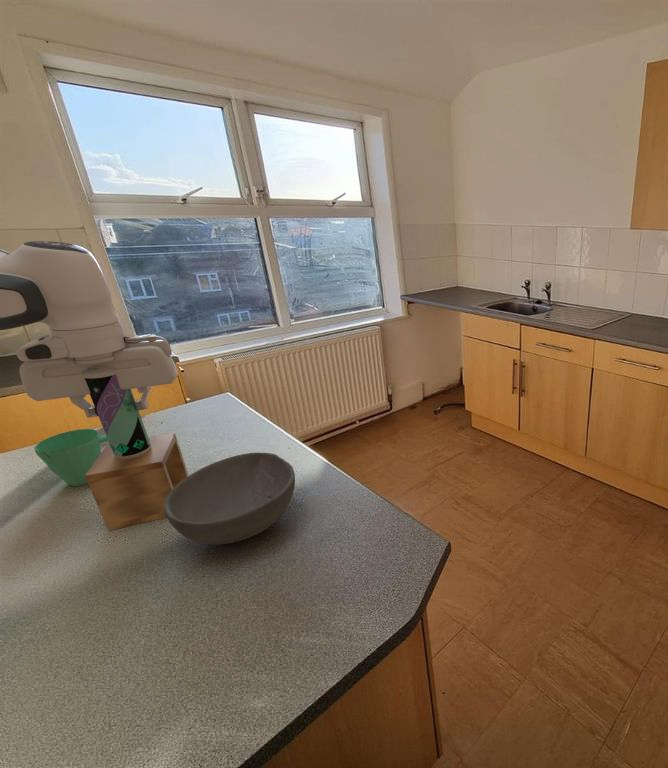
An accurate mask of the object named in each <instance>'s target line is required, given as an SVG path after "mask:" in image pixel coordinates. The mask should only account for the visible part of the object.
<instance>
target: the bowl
mask: <svg viewBox="0 0 668 768" xmlns="http://www.w3.org/2000/svg"><path fill="white" fill-rule="evenodd" d="M188 475H189V474H188ZM295 485H296V473H295V470H294V467H293V465H291V463H289V462H288V461H287V460H285V459H284V458H282V457H280V456H279V455H277V454H275V453H271V452H247V453H242V454H237V455H233V456H230V457H226V458H224V459H220V460H218V461H216V462H213V463H211V464H209V465H206V466H204V467H202V468H200V469H198V470H196V471H194V472H193V473H191V474H190V475H189V476H188V477H187V478H185V479H184V480H182V481H181V482H180V483H179V484H177V485H176V486H175V487H174V488H173V489H172V491H171V492H170V493H169V494H168V496H167V498H166V500H165V502H164V512H165V515H166V517H165V518H166V519H167V521H168V523H170V525H171V526H172V527H173V528H174V529H175V530H176V531H177V532H178V533H179V534H181V536H183V537H185V538H187V539H189V540H191V541H193V542H196V543H199V544H200V543H201V544H205V545H214V546H215V545H228V544H233V543H237V542H241V541H244V540H247V539H249V538H250V539H251V538H252V537H254V536H256V535H259V534H260V533H262V532H264V531H265V530H267V529H269V527H271V526H272V525H273V524H275V523H276V522H277V521H278V520H280V518H281V517H282V516H283V514H284V513H285V511H286V510H287V508H288V507H289V505H290V503H291V501H292V498H293V495H294V491H295V487H296V486H295Z"/></svg>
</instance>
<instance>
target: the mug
mask: <svg viewBox="0 0 668 768" xmlns="http://www.w3.org/2000/svg"><path fill="white" fill-rule="evenodd" d="M107 441H108V439H107V436H106V434H105V433H104V434H102V435H100V432H99V431H98V429H94V428H81V429H80V428H79V429H73V430H69V431H68V430H67V431H64V432H59V433H58V434H54V435H51V436H49V437H46V438H44V439H42V440H41V441H39V442H38V443H36V444H35V446H34V447H33V448H34V452H35V454H36V456H37V457H39V458H40V459H41V460H42V461H43V462H44V464H45V465H46V466H47V467H48V469H49V470H50V471H51V472H52V473H54V475H55V476H57V477H58V478H59V479H61V480H62V481H63V482H64V483H66V484H67V485H69V486H71V487H80V486H85V485H88V482H87V480H86V478H85V475H86V473H87V472H88V470H89V469H90V468H91V466H92V465H93V463H94V462H95V461H96V459H97V458H98V456H99V455H100V454H101V452H102V447H101V444H103V443H105V442H107ZM108 442H109V441H108Z"/></svg>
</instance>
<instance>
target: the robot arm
mask: <svg viewBox="0 0 668 768" xmlns="http://www.w3.org/2000/svg"><path fill="white" fill-rule="evenodd" d="M37 323H43V324H45V325H47V328H48V329H49V331H50V334H47V335H46V334H45V335H44V336H42V337H39V338H36V339H33V340H31V341H29V342H27V343H26V344H23V345H22V346H20V347H19V348H18V349H17V350H16V351H15V354H16V357H17V358H18V359H19V361H21V362H23V363H21V364H20V367H19V376H20V379H21V382H22V386H23V388H24V391H25V393H26V395H27V396H28V397H29V398H30V399H32V400H34V401H36V402H43V401H49V400H57V399H65V398H69V400H70V402H71V404H73V405H75V406H76V407H78V408H79V409H81V410H83V411H84V414H85V416H86V418H88V419H89V418H96V417H99V416H98V414H97V411H96V409H95V406H94V404H92V403H90V402H89V401H87V400H86V399H85V398H86V397H87V396H88V395H89V396H90V394H91V393H90V390H89V388H88V385H87V383H86V381H85V378H84V375H85V374H84V373H82V371H85V370H86V369H87V368H89V367H92V366H96V365H104V366H109V367H112V368H115V370H113V371H114V372H115V373H116V376H117V379H118V382H119V386H120V388H121V389H122V390H127V389H131V390H132V389H137V392H138V393H139V394H141V397H140V398H136V400H135V402H134V403H135V406H137V408H136V409H137V410H139V411H145V410H148V409H149V408H150V404H149V400H148V397H149V394H150V392H151V389H152V387H156V386H157V387H158V386H164V385H171V384H173V383H174V382H175V381H176V379H177V378H178V376H179V371H178V367H177V366H176V364H175V362H174V359H173V357H172V347H171V344H170V342H169V341H168V340H167V339H166V338H164V337H162V336H158V335H157V334H148V335H134V336H126V332H125V331H124V328H123V324H122V322H121V319H120V317H119V315H118V314H117V312H116V311H115V310H114V308H113V305H112V294H111V290H110V288H109V285H108V282H107V280H106V278H105V275H104V273H103V270H102V269H101V267H100V265H99V263H98V261H97V259H96V258H95V257H94V255H93V254H92V253H91V252H90V251H89V250H88V249H86V248H84V247H82V246H80V245H76V244H74V243H67V242H63V241H62V242H61V241H51V240H50V241H46V240H45V241H44V240H33V241H27V242H24V243H22V244H20V245H19V246H18V247H17V248H16V249H15V250H13V251H11V252H10V251H8V250H4V249H1V248H0V331H9V330H14V329H18V328H21V327H24V326H29V325H32V324H37Z"/></svg>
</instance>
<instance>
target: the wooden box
mask: <svg viewBox="0 0 668 768" xmlns="http://www.w3.org/2000/svg"><path fill="white" fill-rule="evenodd" d="M148 438H149V441H150V444H151V447H152V448H151V450H150V451H149V452H147V453H146V454H144V455H141V456H139V457H136V458H132V459H125V460H120V459H116V458H115V456H114V453H113V451H112V449H111V446H110V444H109V443H107V444H106V445H105V447H104V448H103V449H102V450H101V454H100V455H99V456H98V458H97V459H96V461H95V462H94V463H93V465H92V466H91V468H90V469H89V470H88V472H87V473H86V475H85V478H86V480H87V482H88V484H87V485H88V487H89V489H90V491H91V494H92V496H93V499H94V501H95V503H96V505H97V507H98V510H99V512H100V515H101V517H102V519H103V522H104V524H105V525H106V528H107V531H113V530H118V529H122V528H126V527H130V526H131V527H132V526H135V525H140V524H143V523H147V522H152V521H156V520H161V519H164V518H167V517H166V515H165V512H164V502H165V500H166V498H167V496H168V494H169V493H170V492H171V491H172V489H173V488H174V487H175V486H176V485H177V484H179V483H180V482H181V481H182V480H184V479H185V478H187V477H188V476H189V472H188V469H187V466H186V463H185V459H184V455H183V453H182V449H181V447H180V445H179V441H178V438H177V434H176V432H171V433H165V434H160V435H154V436H153V435H152V436H148Z"/></svg>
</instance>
